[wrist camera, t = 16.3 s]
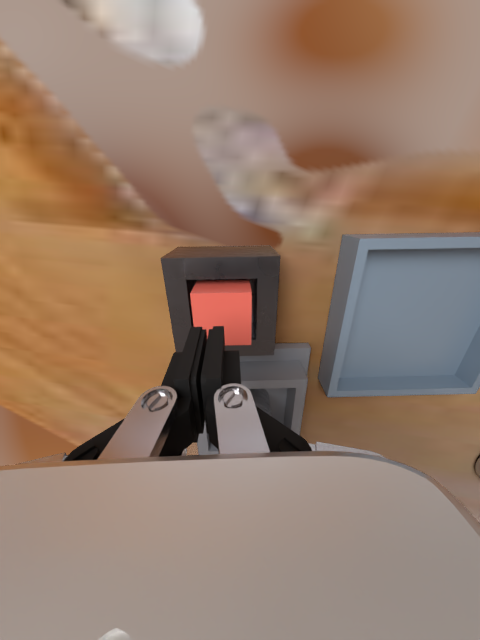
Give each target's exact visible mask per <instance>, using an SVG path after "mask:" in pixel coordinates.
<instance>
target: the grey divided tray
mask: <svg viewBox="0 0 480 640" xmlns="http://www.w3.org/2000/svg"><path fill="white" fill-rule="evenodd" d="M310 351H311V347H310V345H309V344H308V343H278V344H275V349H274V355H264V356H240V372H241V385H243V386H245V387H247V388H248V389H264V390H265V391H266V392H267V394H268V396H269V401H270V408H271V414H272V417H273V418H275V419H276V420H278V421H279V422H280V423H282V424H283V425H285V426H286V427H288V428H289V429H291V430H292V431H294V432H295V433H297V434H298V435H300V429H301V422H302V416H303V409H304V402H305V396H306V389H307V382H308V378H307V371H308V365H309V358H310ZM197 446H198V453H199V455H211V454H219V452H218V449H217V448H216V447H215V446H214V445H213V444H212V443H211V442H210V441H209V433H208V434H207V432H206V424H204V432H203V434H199V437H198V442H197Z"/></svg>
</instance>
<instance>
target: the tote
mask: <svg viewBox="0 0 480 640" xmlns="http://www.w3.org/2000/svg"><path fill="white" fill-rule="evenodd" d="M318 379H319V381H320V383H321V385H322V387H323V389H324V392H325V394H326V396H327V397H358V396H398V395H438V394H476V392H477V390H478V389H479V387H480V232H471V233H410V234H350V235H343V236H342V241H341V247H340V253H339V259H338V264H337V270H336V276H335V282H334V288H333V293H332V299H331V305H330V311H329V316H328V322H327V328H326V334H325V340H324V345H323V351H322V357H321V363H320V368H319V374H318Z"/></svg>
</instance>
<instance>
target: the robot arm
mask: <svg viewBox="0 0 480 640" xmlns="http://www.w3.org/2000/svg"><path fill="white" fill-rule="evenodd" d="M204 424H206V432H207V434H208V433H209V441H210V442H211V443H212V444H213V445H214V446H215V447H216V448H217V449H218V452H219V454H211V455H188V456H186V453H187V447H188V446H189V445H190V444H192V443H193V442H198V437H199V434H203V432H204ZM475 470H476V473H477V475H478V476H479V477H480V457H479V458H478V460H477V462H476V466H475ZM0 640H480V523H479V522H478V521H477V520H476V519H475V518H474V517H473V515H472V514H471V513H470V512H469V511H468V510H467V509H466V508H465V507H464V506H463V504H462V503H461V502H460V501H459V500H458V499H457V498H456V497H455V496H454V495H452V494H451V493H450V492H449V491H448V490H447V489H446V488H445V487H444V486H442V485H441V484H440V483H438V482H437V481H436V480H435V479H433V478H431V477H430V476H428V475H426V474H425V473H423V472H421V471H419V470H417V469H415V468H412V467H410V466H407V465H405V464H403V463H399V462H396V461H393V460H390V459H387V458H385V457H383V456H382V455H380V454H378V453H375V452H372V451H367V450H362V449H356V448H350V447H344V446H339V445H333V444H327V443H321V442H316V445H314V444H309V443H307V441H306V440H305V439H303V438H302V437H301V436H300V435H298V434H297V433H295V432H294V431H292V430H291V429H289V428H288V427H286V426H285V425H283V424H282V423H280V422H279V421H278V420H276V419H275V418H273V417H272V416H270V415H269V414H267V413H266V412H264V411H263V410H261V409H260V408H258V407H257V406H255V403H254V400H253V397H252V394H251V392H250V390H249V389H248V388H247V387H245V386H243V385H241V372H240V355H239V350H229V351H225V336H224V326H213V329H209V332H208V338H207V331H206V329H202V327H191V328H190V331H189V334H188V337H187V340H186V343H185V346H184V349H183V352H175V353H174V354H173V356H172V359H171V362H170V364H169V367H168V369H167V372H166V374H165V377H164V380H163V382H162V385H161V386H158V387H154V388H151V389H149V390H147V391H146V392H144V393H143V394H142V395H141V396H140V397H139V399H138V400H137V402H136V403H135V404H134V406H133V407H132V409H131V410H130V412H129V413H128V415H127V416H126V418H125V419H123V420H121V421H120V422H118V423H116V424H115V425H113V426H111V427H110V428H108V429H107V430H105V431H103V432H102V433H100V434H98V435H97V436H95V437H93V438H92V439H90V440H89V441H87V442H85V443H84V444H82V445H80V446H79V447H77V448H76V449H75V450H73V451H72V452H71V453H70V454H69V455H66V453H61V454H57V455H52V456H48V457H44V458H40V459H35V460H31V461H27V462H23V463H19V464H15V465H5V466H0Z"/></svg>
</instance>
